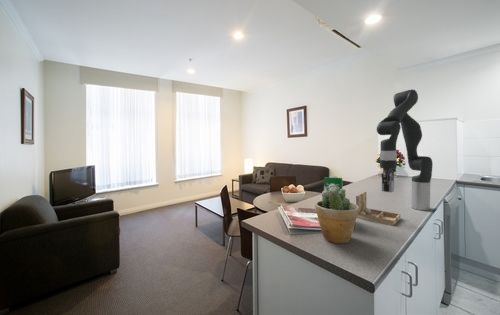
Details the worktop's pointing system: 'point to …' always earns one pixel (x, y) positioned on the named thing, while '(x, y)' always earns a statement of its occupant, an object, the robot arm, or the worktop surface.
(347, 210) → the potted plant
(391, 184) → the gray rectangular block
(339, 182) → the milk carton
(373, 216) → the divided box
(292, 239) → the worktop surface
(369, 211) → the pebble
